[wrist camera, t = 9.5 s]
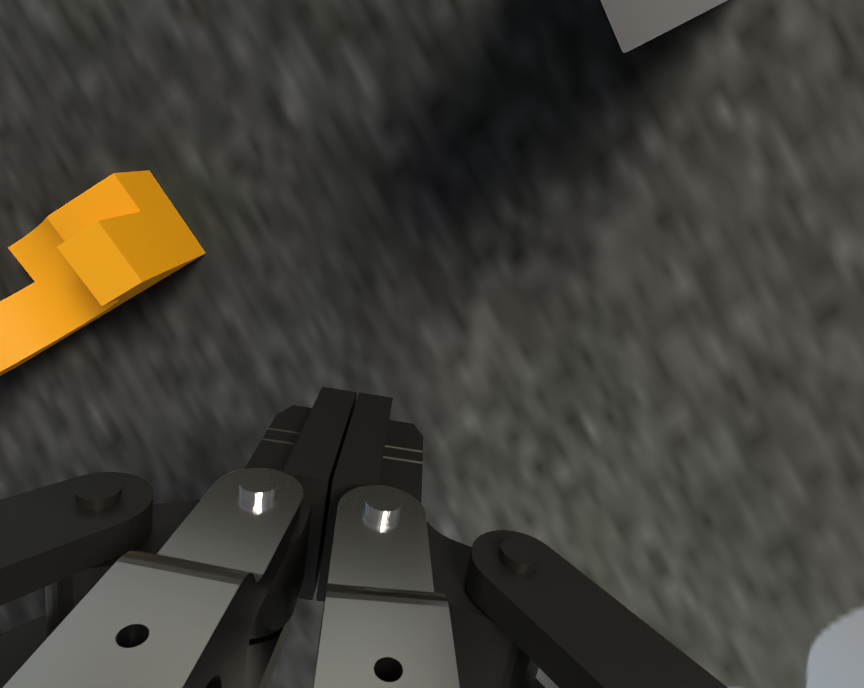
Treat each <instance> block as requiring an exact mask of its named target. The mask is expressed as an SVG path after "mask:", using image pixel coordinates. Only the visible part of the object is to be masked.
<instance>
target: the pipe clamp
mask: <svg viewBox="0 0 864 688" xmlns="http://www.w3.org/2000/svg"><path fill="white" fill-rule="evenodd" d="M8 248H9V250H10V251H11V252H12V253H13V255H14V256H15V257H16V258H17V260H18V261H19V262H20V264H21V265H22V266H23V267H24V269H25V270H26V271H27V272H28V274H29V275H30V276H31V278H32V279H33V280H34V281H35V282H34V283H32V284H31V285H29V286H27V287H25V288H24V289H22V290H20V291H18V292H17V293H15V294H13V295H11V296H9V297H8V298H6V299H4V300H2V301H0V375H2V374H4V373H6V372H8V371H10V370H12V369H14V368H16V367H17V366H19V365H21V364H22V363H24V362H26V361H27V360H29V359H31V358H32V357H34V356H36V355H37V354H39V353H41V352H42V351H44V350H46V349H47V348H49V347H51V346H52V345H54V344H56V343H57V342H59V341H61V340H62V339H64V338H66V337H67V336H69V335H71V334H72V333H74V332H76V331H77V330H79V329H81V328H82V327H84V326H86V325H87V324H89V323H91V322H92V321H94V320H96V319H97V318H99V317H101V316H102V315H104V314H106V313H107V312H109V311H111V310H112V309H114V308H115V307H117V306H119V305H120V304H122V303H124V302H125V301H127V300H129V299H130V298H132V297H134V296H135V295H137V294H139V293H140V292H142V291H144V290H145V289H147V288H149V287H150V286H152V285H154V284H155V283H157V282H159V281H160V280H162V279H164V278H165V277H167V276H169V275H170V274H172V273H174V272H175V271H177V270H179V269H180V268H182V267H184V266H185V265H187V264H189V263H190V262H192V261H194V260H195V259H197V258H199V257H200V256H202V255H204V254H205V251H204V250H203V248H202V247H201V246H200V244H199V243H198V241H197V240H196V238H195V237H194V235H193V234H192V232H191V231H190V229H189V228H188V227H187V225H186V224H185V222H184V221H183V219H182V218H181V216H180V215H179V213H178V212H177V210H176V209H175V207H174V206H173V205H172V203H171V202H170V200H169V199H168V197H167V196H166V194H165V193H164V191H163V190H162V188H161V187H160V186H159V184H158V183H157V181H156V180H155V178H154V177H153V175H152V174H151V172H150V171H136V172H123V173H113V174H112V175H110V176H109V177H107V178H106V179H104V180H102V181H101V182H99V183H98V184H96V185H95V186H93V187H92V188H90V189H89V190H87V191H86V192H84V193H82V194H81V195H79V196H78V197H76V198H75V199H73V200H72V201H70V202H69V203H67V204H66V205H64V206H62V207H61V208H59V209H58V210H56V211H55V212H53V213H52V214H50V215H49V216H47V217H46V219H45V220H44V221H43V222H42V223H41V224H40V225H39V226H38V227H37V228H35V229H34V230H33V231H32V232H30V233H29V234H28V235H26V236H25V237H23V238H22V239H21V240H19V241H17V242H16V243H14V244H13V245H11V246H10V247H8Z"/></svg>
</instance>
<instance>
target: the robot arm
mask: <svg viewBox="0 0 864 688" xmlns="http://www.w3.org/2000/svg"><path fill="white" fill-rule="evenodd" d="M356 395H357V393H356V392H351V391H345V390H339V389H332V388H326V387H322V389H321V391H320V393H319V395H318V397H317V399H316V401H315V403H314V406H313V408H307V407H301V406H294V405H293V406H291V407H289V408H287V409H286V410H284V411H282V412H280V413H278V414H277V415H276V416H275V418H274V420H273V422H272V423H271V425H270V427H269V430H267V432H266V433H265V435H264V437H263V440H261V442H260V443H259V445H258V447H257V448H256V450H255V452H254V454H253V455H252V457H251V459H250V460H249V462H248V464H247V465H246V467H245V469H241V470H237V471H234V472H231V473H228V474H226V475H224V476H223V477H221V478H220V479H218V480H217V481H216V482H215V483H214V484H213V486H212V487H211V488H210V489H209V491H208V492H207V493H206V494H205V495H204V497H203V498H202V499H201V500H199V501H193V502H182V503H163V504H153V490H152V488H151V486H150V485H149V484H148V483H147V482H146V481H144V480H143V479H141V478H139V477H137V476H134V475H130V474H125V473H116V472H103V473H93V474H88V475H83V476H79V477H76V478H72V479H69V480H66V481H62V482H59V483H55V484H52V485H49V486H45V487H42V488H39V489H35V490H32V491H29V492H25V493H22V494H19V495H15V496H12V497H9V498H5V499H2V500H0V605H3V604H5V603H7V602H10V601H12V600H15V599H17V598H19V597H22V596H24V595H26V594H29V593H31V592H34V591H36V590H38V589H41V588H43V587H45V602H46V615H44V616H42V617H39V618H37V619H35V620H33V621H31V622H28V623H26V624H24V625H22V626H20V627H17V628H15V629H13V630H11V631H9V632H6V633H4V634H2V635H0V688H266V687H267V685H268V682H269V680H270V677H271V675H272V672H273V670H274V667H275V665H276V662H277V660H278V657H279V655H280V652H281V650H282V647H283V645H284V642H285V640H286V636H287V631H288V622H289V619H290V618H291V616H292V614H293V611H294V608H295V605H296V601H297V598H302V599H309V600H313V596H314V592H315V588H316V585H317V581H318V577H319V573H320V578H319V585H318V593H317V600H318V601H325V602H324V609H323V617H322V623H321V630H320V637H319V645H318V652H317V659H316V667H315V674H314V681H313V688H545V687H544V686H543V685H542V684H541V683H540V682H539V681H538V680H537V679H536V674H537V671H538V668H540V669H541V670H542V671H543V672H544V673H545V674H546V675H547V676H548V677H549V678H550V679H551V680H552V681H553V682H554V683H555V684H556V685H557V686H558V687H559V688H727V687H726V686H725V685H724V684H722V683H721V682H720V681H719V680H717V679H716V678H715V677H713V676H712V675H711V674H710V673H708V672H707V671H706V670H705V669H703V668H702V667H701V666H700V665H698V664H697V663H696V662H694V661H693V660H692V659H691V658H689V657H688V656H687V655H686V654H684V653H683V652H682V651H680V650H679V649H678V648H677V647H675V646H674V645H673V644H672V643H670V642H669V641H668V640H667V639H665V638H664V637H663V636H661V635H660V634H659V633H658V632H656V631H655V630H654V629H653V628H651V627H650V626H649V625H647V624H646V623H645V622H644V621H642V620H641V619H640V618H639V617H637V616H636V615H635V614H634V613H632V612H631V611H630V610H628V609H627V608H626V607H625V606H623V605H622V604H621V603H620V602H618V601H617V600H616V599H614V598H613V597H612V596H611V595H609V594H608V593H607V592H606V591H604V590H603V589H602V588H601V587H599V586H598V585H597V584H595V583H594V582H593V581H592V580H590V579H589V578H588V577H587V576H585V575H584V574H583V573H582V572H580V571H579V570H578V569H576V568H575V567H574V566H573V565H571V564H570V563H569V562H568V561H566V560H565V559H564V558H562V557H561V556H560V555H559V554H557V553H556V552H555V551H554V550H552V549H551V548H550V547H548V546H547V545H546V544H544V543H543V542H541V541H539V540H537V539H536V538H533V537H531V536H529V535H526V534H523V533H519V532H515V531H507V530H498V531H491V532H487V533H485V534H483V535H481V536H479V537H478V538H477V539H476V540H475V542H474V543H473V546H472V547H470V546H467V545H464V544H462V543H459V542H456V541H454V540H452V539H449V538H447V537H445V536H444V535H442V534H440V533H439V532H438V531H436V530H435V529H434V528H433V527H432V526H430V524H429V523H428V522H427V521H426V513H425V509H424V508H423V506H422V504H421V492H422V459H423V453H422V452H423V436H422V435H421V433H420V432H419V430H418V429H417V428H416V426H415V425H414V424H412V423H405V422H399V421H392V420H389V417H390V411H391V405H392V399H393V398H390V397H384V396H378V395H371V394H365V393H359V395H358V398H357V401H356Z"/></svg>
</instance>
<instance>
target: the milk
mask: <svg viewBox="0 0 864 688" xmlns="http://www.w3.org/2000/svg"><path fill="white" fill-rule="evenodd" d="M600 1H601V3H602V5H603V8H604V10H605V12H606V15H607V17H608V20H609V22H610V24H611V27H612V29H613V31H614V34H615V36H616V38H617V41H618V43H619V45H620V48H621V50H622V52H623V53H626V52H628V51H630V50H632V49H634V48H636V47H638V46H640V45H642V44H644V43H646V42H648V41H650V40H652V39H654V38H656V37H658V36H659V35H661V34H663V33H665V32H667V31H669V30H671V29H673V28H675V27H677V26H679V25H681V24H683V23H685V22H687V21H689V20H691V19H692V18H694V17H696V16H698V15H700V14H702V13H704V12H706V11H708V10H710V9H712V8H714V7H716V6H718V5H720V4H722V3H724V2H725V1H727V0H600Z"/></svg>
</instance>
